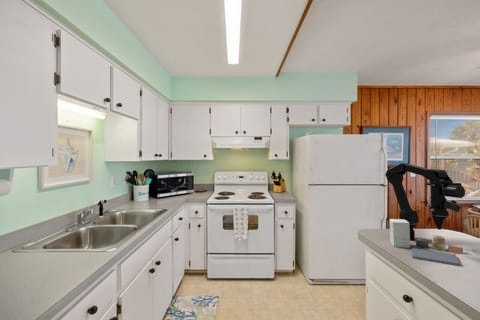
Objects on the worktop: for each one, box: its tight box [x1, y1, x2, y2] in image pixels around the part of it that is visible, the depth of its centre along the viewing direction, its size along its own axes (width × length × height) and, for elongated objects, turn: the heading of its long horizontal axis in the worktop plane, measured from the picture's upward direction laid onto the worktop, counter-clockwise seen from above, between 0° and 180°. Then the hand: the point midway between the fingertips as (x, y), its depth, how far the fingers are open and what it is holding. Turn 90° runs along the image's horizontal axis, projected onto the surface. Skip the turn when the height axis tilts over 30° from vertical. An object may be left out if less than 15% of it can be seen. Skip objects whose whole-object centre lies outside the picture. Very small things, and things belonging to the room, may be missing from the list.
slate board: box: [411, 247, 461, 267], centre depth 111 cm, size 16×12×1 cm
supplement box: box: [389, 218, 411, 249], centre depth 127 cm, size 7×7×13 cm
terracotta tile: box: [447, 243, 464, 255], centre depth 117 cm, size 5×3×3 cm, turn 56°
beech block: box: [431, 234, 446, 252], centre depth 121 cm, size 4×4×6 cm
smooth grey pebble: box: [415, 238, 429, 249], centre depth 125 cm, size 5×5×3 cm
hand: (438, 227), depth 121 cm, fingers open, 9 cm apart
